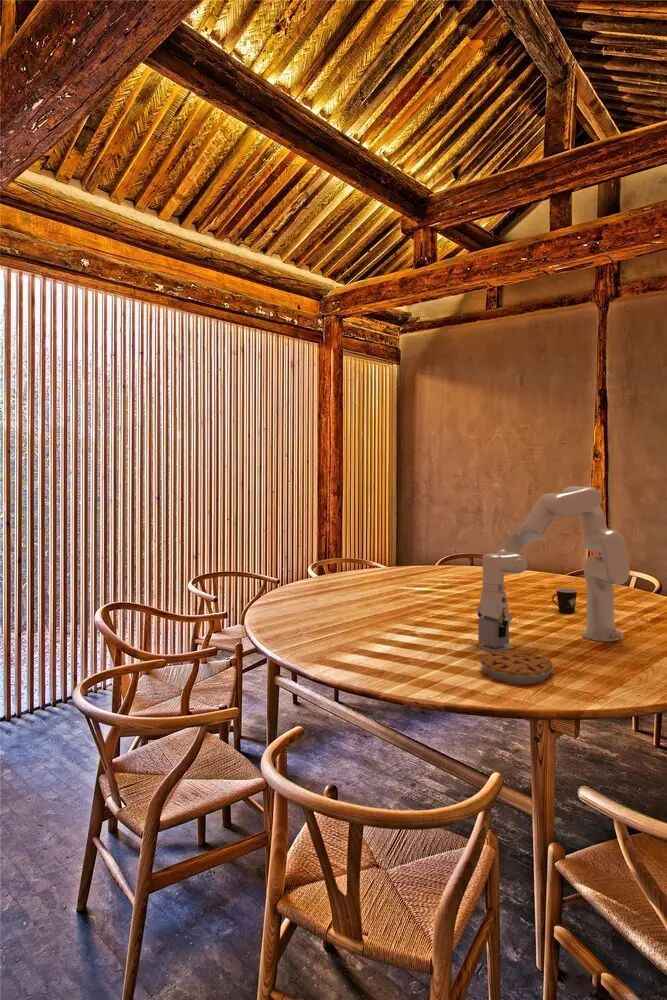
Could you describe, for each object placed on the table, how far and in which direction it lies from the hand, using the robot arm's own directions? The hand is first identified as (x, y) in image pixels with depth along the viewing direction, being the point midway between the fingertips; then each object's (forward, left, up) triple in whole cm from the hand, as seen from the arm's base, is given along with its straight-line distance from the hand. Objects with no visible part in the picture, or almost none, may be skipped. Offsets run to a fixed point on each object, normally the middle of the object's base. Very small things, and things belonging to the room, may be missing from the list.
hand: (493, 634), depth 199 cm
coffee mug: (+15, -62, -5) cm, 64 cm away
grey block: (0, 0, -3) cm, 3 cm away
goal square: (0, 0, -5) cm, 5 cm away
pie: (-22, +14, -5) cm, 27 cm away
